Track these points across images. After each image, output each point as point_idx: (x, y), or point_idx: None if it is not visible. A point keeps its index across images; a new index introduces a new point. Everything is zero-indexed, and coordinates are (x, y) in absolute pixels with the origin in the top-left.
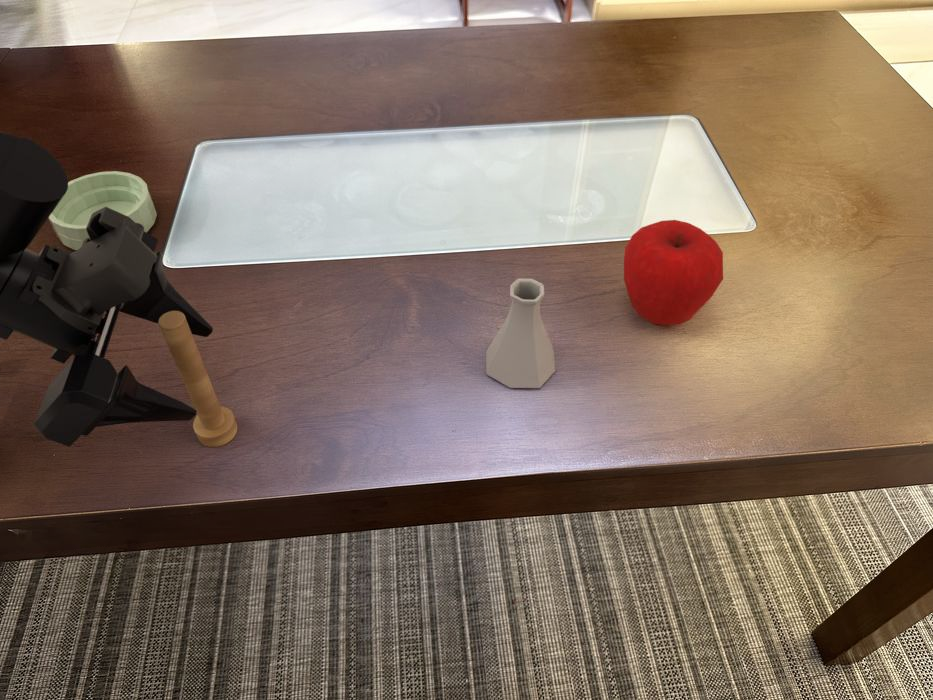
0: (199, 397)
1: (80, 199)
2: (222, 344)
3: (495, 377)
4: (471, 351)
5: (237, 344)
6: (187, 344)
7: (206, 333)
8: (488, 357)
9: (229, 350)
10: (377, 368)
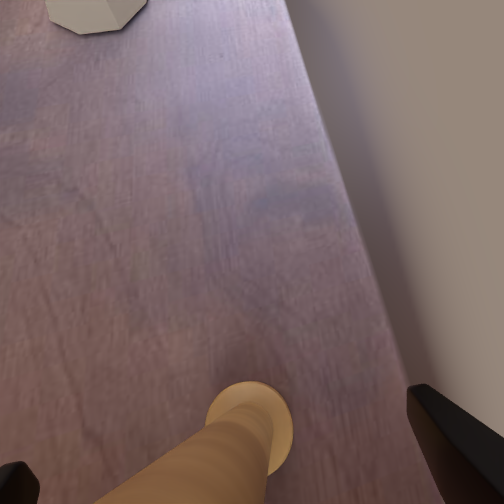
0: (268, 442)
1: None
2: None
3: (128, 15)
4: (74, 55)
5: (11, 457)
6: (217, 479)
7: (28, 485)
8: (93, 20)
9: None
10: (99, 171)
